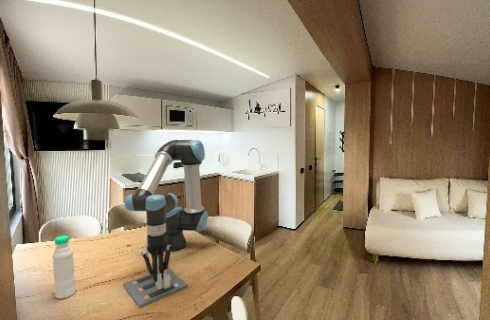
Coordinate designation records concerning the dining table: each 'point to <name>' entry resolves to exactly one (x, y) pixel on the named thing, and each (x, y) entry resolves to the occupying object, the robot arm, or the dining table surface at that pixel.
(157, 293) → the panel
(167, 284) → the breaker
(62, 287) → the water bottle
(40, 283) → the dining table surface
